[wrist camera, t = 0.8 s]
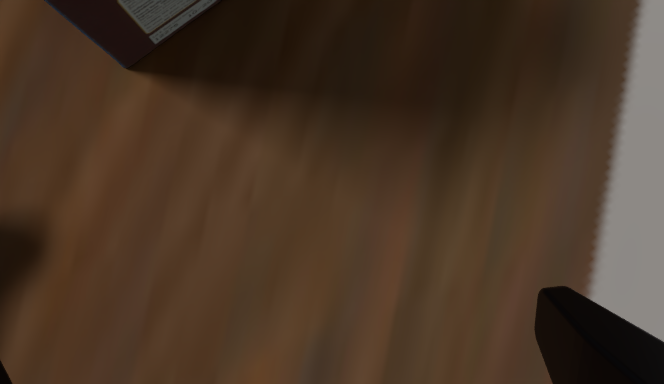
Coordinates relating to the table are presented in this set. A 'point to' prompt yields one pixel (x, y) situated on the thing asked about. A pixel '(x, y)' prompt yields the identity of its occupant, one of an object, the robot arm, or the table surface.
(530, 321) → the table surface
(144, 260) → the table surface
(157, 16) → the protein box
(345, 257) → the table surface
